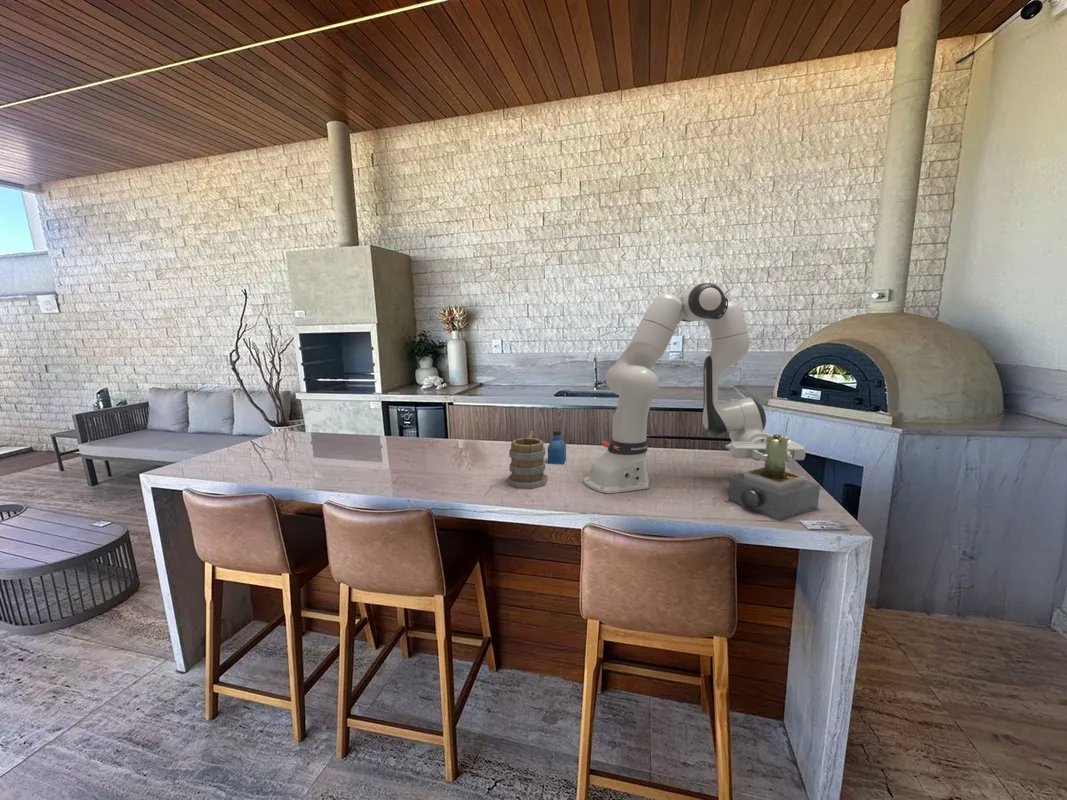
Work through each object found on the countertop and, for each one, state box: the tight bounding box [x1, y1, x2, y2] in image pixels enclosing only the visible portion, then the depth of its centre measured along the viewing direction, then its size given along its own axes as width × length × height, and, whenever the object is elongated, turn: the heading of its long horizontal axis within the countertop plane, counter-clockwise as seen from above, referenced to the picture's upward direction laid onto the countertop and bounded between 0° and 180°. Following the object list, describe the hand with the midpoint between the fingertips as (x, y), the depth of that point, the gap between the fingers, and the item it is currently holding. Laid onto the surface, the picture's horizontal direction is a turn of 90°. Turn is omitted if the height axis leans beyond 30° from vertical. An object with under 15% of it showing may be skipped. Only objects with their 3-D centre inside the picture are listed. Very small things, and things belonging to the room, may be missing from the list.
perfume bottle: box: [547, 429, 567, 465], centre depth 168 cm, size 6×6×12 cm
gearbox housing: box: [727, 467, 821, 522], centre depth 126 cm, size 19×16×9 cm
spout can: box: [763, 434, 788, 479], centre depth 124 cm, size 6×5×13 cm
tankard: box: [507, 430, 548, 490], centre depth 149 cm, size 20×13×15 cm, turn 170°
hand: (777, 458), depth 124 cm, fingers closed on spout can, 5 cm apart
